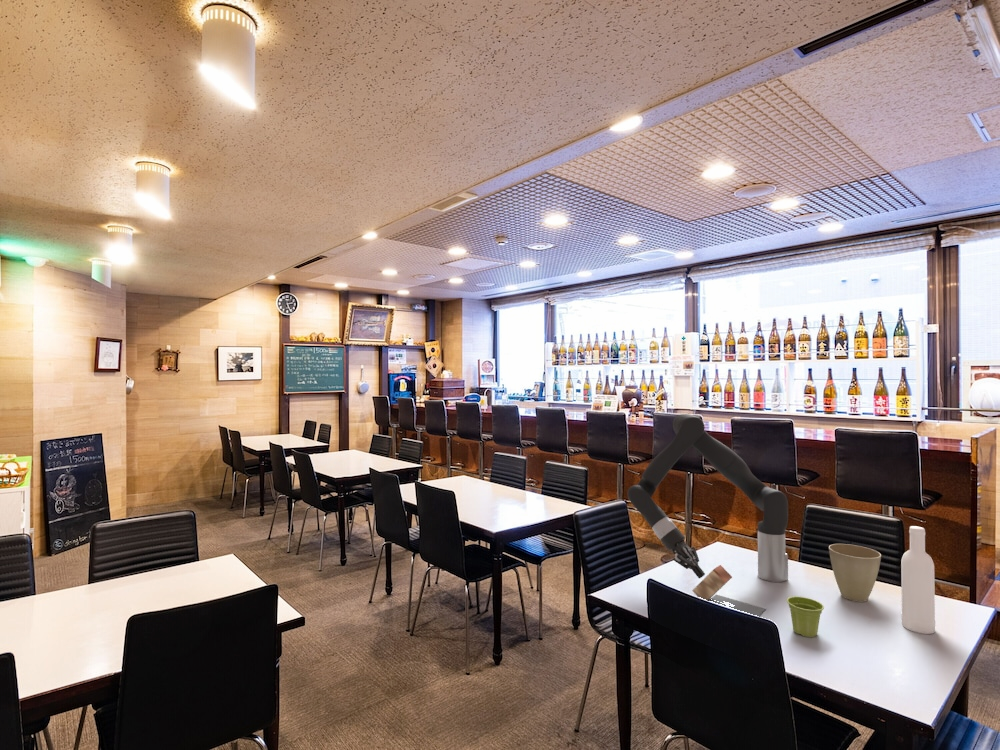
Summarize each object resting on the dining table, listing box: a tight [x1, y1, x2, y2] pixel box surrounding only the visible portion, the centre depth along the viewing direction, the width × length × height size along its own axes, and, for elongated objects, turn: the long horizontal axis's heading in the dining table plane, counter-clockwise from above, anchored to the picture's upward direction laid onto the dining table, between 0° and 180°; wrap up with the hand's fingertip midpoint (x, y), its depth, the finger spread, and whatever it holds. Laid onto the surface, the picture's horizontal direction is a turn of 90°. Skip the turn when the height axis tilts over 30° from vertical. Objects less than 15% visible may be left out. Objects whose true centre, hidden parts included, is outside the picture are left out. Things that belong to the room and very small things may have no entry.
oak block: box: [692, 564, 733, 601], centre depth 176 cm, size 5×5×12 cm
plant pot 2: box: [828, 543, 882, 603], centre depth 179 cm, size 15×15×16 cm
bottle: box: [900, 525, 936, 635], centre depth 157 cm, size 8×8×30 cm
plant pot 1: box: [786, 596, 825, 638], centre depth 155 cm, size 9×9×9 cm
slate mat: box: [709, 594, 767, 617], centre depth 171 cm, size 16×13×1 cm
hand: (702, 576), depth 178 cm, fingers closed
